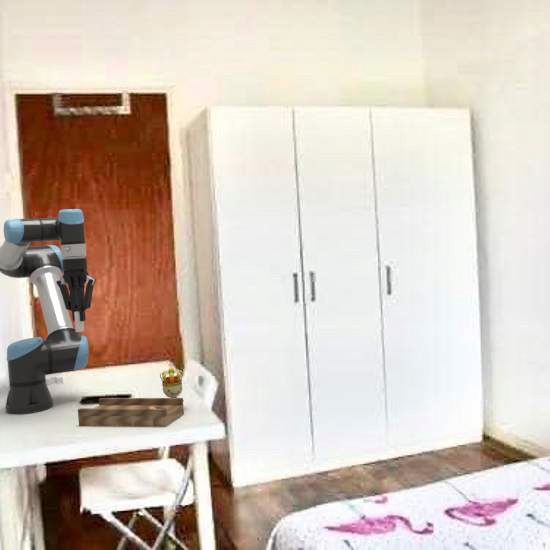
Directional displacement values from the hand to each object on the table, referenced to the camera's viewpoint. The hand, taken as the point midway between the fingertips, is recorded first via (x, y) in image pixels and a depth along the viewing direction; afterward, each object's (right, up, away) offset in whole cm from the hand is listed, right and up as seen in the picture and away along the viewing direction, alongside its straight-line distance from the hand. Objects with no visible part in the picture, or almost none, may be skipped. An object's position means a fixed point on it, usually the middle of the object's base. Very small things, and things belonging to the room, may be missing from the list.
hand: (80, 331), depth 221 cm
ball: (+26, -24, -14) cm, 37 cm away
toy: (+30, -25, -2) cm, 39 cm away
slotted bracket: (-27, -25, +57) cm, 69 cm away
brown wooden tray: (+19, -26, -11) cm, 34 cm away
